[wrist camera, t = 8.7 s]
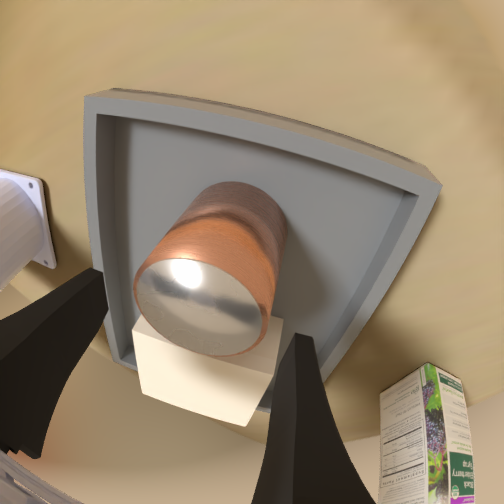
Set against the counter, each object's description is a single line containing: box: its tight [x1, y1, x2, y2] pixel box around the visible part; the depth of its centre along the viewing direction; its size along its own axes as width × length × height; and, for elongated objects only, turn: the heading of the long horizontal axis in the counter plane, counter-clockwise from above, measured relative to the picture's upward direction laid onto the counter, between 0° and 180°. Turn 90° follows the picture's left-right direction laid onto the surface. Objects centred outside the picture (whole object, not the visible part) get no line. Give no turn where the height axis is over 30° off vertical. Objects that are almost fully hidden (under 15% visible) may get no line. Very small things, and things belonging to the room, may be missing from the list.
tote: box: [83, 88, 442, 413], centre depth 18 cm, size 16×21×2 cm
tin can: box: [133, 181, 288, 357], centre depth 14 cm, size 5×5×6 cm
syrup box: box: [378, 363, 475, 504], centre depth 16 cm, size 6×6×14 cm
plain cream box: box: [132, 314, 284, 427], centre depth 20 cm, size 8×8×4 cm
